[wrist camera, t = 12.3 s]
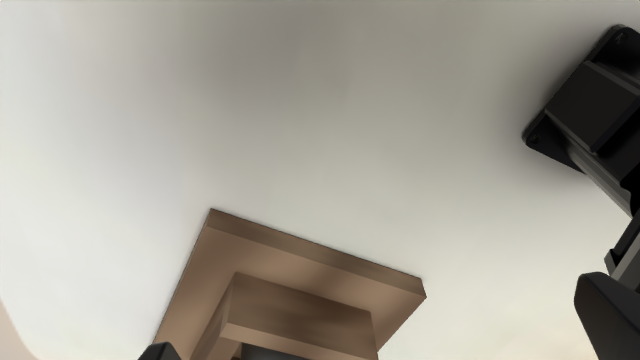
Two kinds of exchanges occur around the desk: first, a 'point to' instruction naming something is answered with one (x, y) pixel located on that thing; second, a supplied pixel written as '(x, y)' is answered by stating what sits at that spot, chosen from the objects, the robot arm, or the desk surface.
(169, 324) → the cradle jig
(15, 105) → the desk surface
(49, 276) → the desk surface
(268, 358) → the peg
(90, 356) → the desk surface
